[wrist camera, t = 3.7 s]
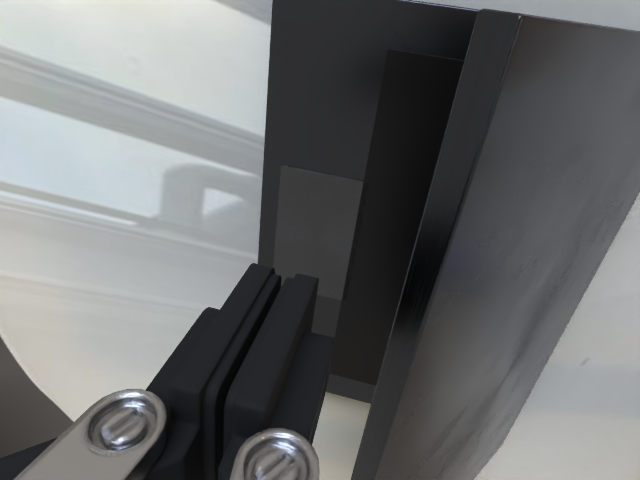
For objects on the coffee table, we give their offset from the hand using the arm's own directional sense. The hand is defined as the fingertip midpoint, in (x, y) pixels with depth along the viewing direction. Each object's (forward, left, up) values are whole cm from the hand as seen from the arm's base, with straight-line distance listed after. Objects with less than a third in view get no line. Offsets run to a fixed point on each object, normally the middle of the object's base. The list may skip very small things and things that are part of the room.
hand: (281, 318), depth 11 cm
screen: (+8, +9, -9) cm, 15 cm away
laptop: (+8, +4, -19) cm, 21 cm away
